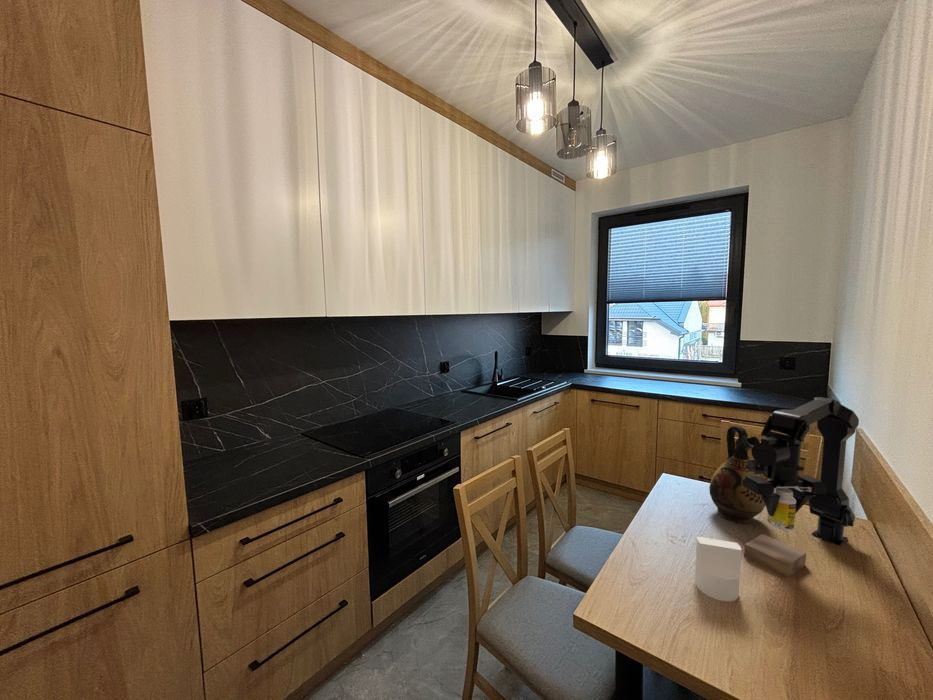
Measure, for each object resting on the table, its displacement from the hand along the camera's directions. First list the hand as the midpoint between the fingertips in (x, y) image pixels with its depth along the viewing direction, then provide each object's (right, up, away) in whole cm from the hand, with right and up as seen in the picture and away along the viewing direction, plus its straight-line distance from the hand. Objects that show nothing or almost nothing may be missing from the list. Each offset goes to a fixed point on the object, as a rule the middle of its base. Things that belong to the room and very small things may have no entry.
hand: (781, 515), depth 101 cm
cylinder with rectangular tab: (-24, -15, -9) cm, 29 cm away
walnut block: (-1, -14, +1) cm, 14 cm away
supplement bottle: (0, -3, 0) cm, 3 cm away
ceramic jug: (+5, -11, +25) cm, 28 cm away
